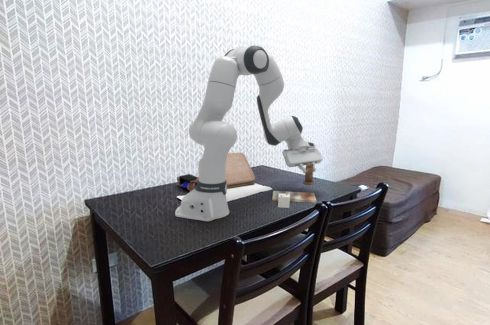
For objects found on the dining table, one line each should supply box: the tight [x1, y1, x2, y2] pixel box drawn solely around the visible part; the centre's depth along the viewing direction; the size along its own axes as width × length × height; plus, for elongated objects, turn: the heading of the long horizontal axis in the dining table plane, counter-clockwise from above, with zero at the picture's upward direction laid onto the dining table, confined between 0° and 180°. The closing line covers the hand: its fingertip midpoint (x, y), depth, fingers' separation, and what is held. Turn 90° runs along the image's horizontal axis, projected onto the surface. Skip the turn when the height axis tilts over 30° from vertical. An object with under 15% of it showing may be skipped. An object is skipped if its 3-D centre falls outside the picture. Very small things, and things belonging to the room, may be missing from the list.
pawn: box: [302, 163, 315, 186], centre depth 142 cm, size 5×5×10 cm
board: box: [272, 190, 317, 204], centre depth 145 cm, size 20×11×1 cm, turn 83°
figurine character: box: [176, 173, 199, 192], centre depth 156 cm, size 7×8×15 cm
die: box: [277, 193, 291, 209], centre depth 134 cm, size 5×5×5 cm
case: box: [226, 152, 256, 189], centre depth 168 cm, size 20×21×16 cm
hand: (310, 171), depth 141 cm, fingers closed on pawn, 4 cm apart
